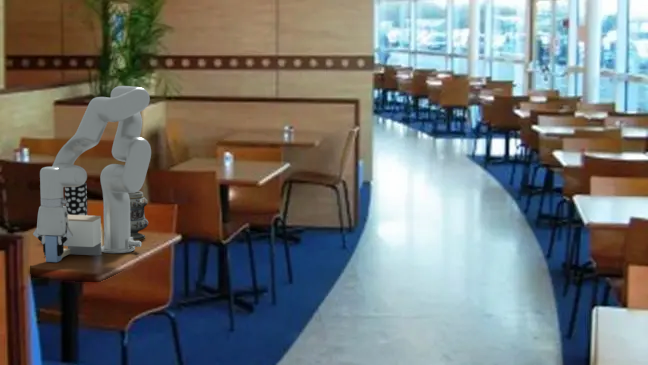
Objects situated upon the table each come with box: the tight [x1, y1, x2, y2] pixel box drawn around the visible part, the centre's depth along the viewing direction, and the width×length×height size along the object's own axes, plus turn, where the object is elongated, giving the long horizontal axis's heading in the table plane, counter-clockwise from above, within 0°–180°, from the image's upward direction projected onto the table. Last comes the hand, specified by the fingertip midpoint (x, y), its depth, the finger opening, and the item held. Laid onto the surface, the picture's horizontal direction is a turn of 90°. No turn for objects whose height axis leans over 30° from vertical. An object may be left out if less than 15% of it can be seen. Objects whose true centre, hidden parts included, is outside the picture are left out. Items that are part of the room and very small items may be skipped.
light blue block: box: [45, 236, 71, 263], centre depth 342 cm, size 4×14×9 cm, turn 172°
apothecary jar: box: [128, 190, 149, 241], centre depth 379 cm, size 12×12×18 cm
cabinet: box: [63, 214, 102, 256], centre depth 346 cm, size 12×8×14 cm
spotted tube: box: [64, 182, 88, 215], centre depth 385 cm, size 8×8×20 cm
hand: (53, 254), depth 338 cm, fingers closed on light blue block, 4 cm apart
